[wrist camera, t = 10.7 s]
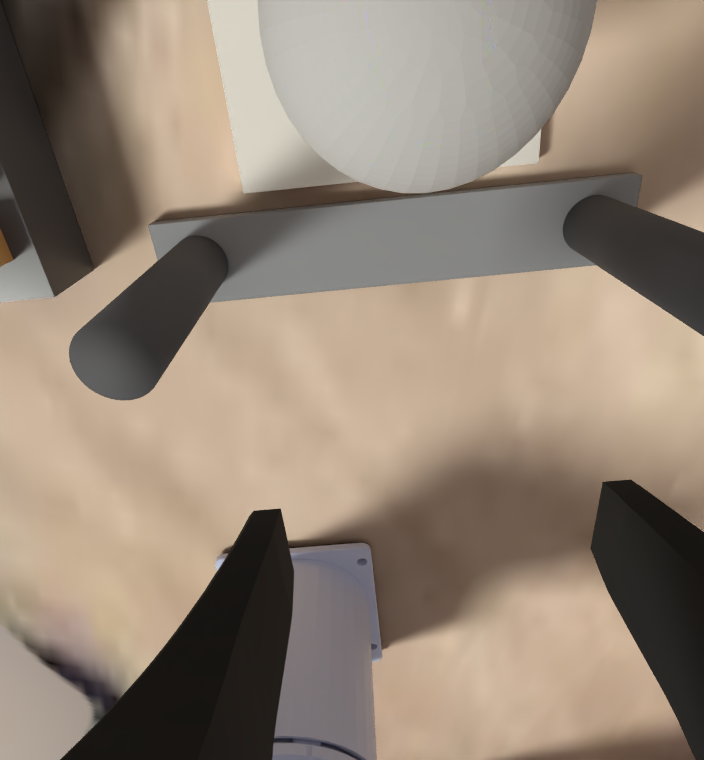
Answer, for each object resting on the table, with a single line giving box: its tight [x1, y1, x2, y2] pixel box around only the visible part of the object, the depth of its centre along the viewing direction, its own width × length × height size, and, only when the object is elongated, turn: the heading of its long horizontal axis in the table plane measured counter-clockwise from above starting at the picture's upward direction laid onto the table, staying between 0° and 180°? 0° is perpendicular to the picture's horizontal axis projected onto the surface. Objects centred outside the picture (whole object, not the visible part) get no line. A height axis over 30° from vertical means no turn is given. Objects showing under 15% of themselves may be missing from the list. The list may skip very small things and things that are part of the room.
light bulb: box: [258, 0, 597, 193], centre depth 11 cm, size 6×6×10 cm
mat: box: [207, 0, 541, 194], centre depth 16 cm, size 8×10×1 cm
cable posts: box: [69, 173, 704, 400], centre depth 15 cm, size 3×17×8 cm, turn 95°
